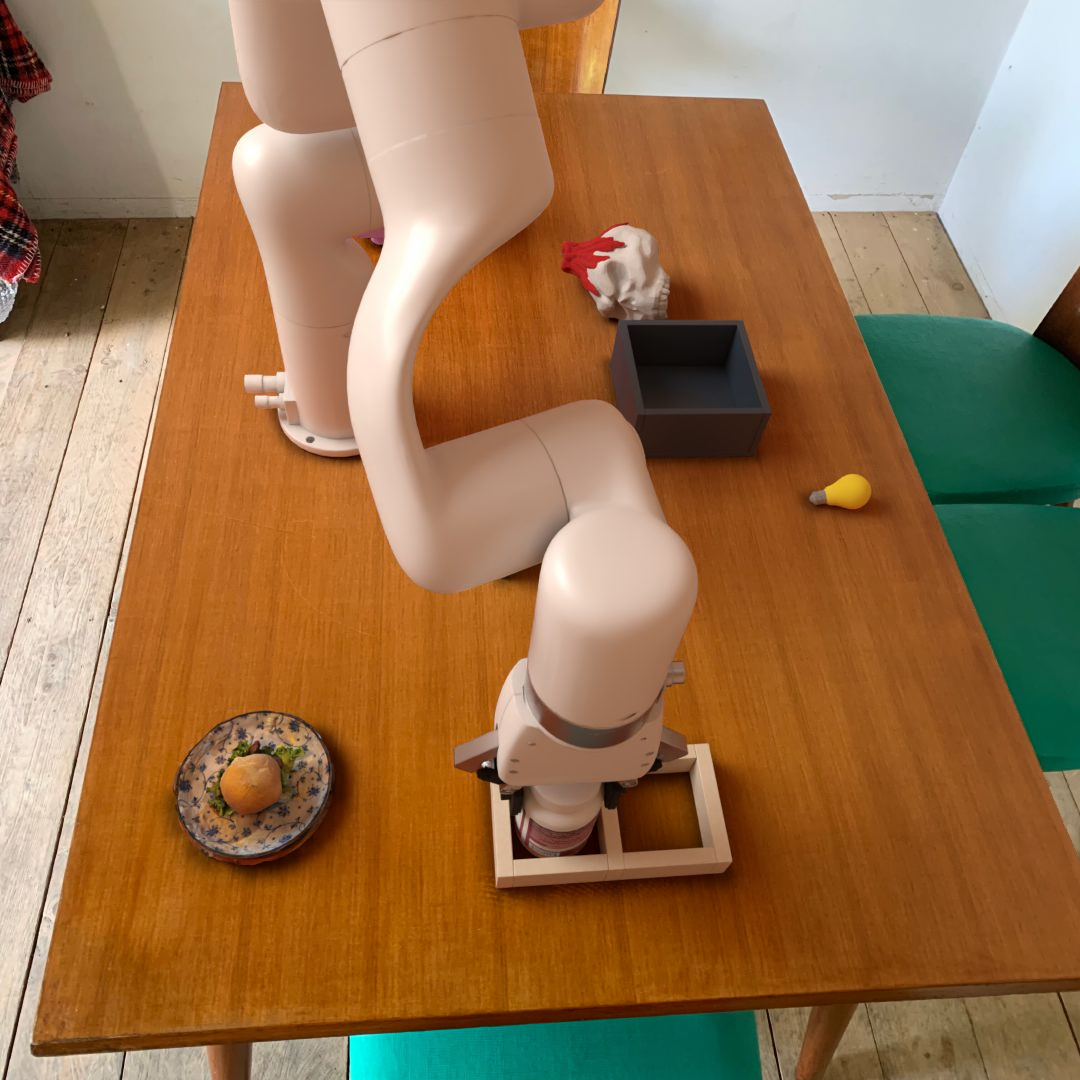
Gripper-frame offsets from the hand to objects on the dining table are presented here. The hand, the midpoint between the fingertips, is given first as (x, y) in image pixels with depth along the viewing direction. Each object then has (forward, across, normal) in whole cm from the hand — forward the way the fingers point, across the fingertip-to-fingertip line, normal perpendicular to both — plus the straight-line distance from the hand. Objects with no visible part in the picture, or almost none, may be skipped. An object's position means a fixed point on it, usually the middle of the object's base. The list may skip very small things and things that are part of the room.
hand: (560, 791), depth 66 cm
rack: (+7, -4, 0) cm, 8 cm away
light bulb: (+7, -32, -31) cm, 45 cm away
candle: (+7, -13, -62) cm, 64 cm away
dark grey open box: (+7, -18, -44) cm, 48 cm away
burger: (+7, +23, -4) cm, 24 cm away
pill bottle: (+7, 0, 0) cm, 7 cm away
